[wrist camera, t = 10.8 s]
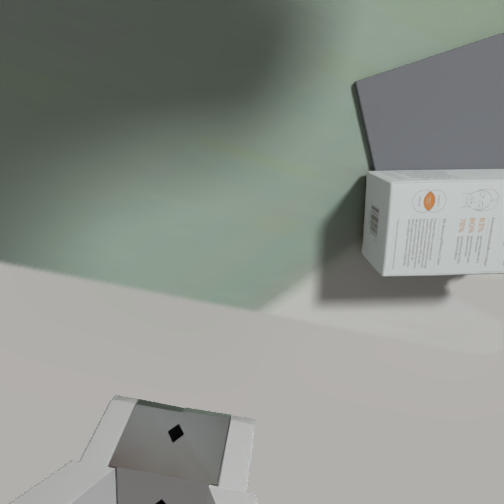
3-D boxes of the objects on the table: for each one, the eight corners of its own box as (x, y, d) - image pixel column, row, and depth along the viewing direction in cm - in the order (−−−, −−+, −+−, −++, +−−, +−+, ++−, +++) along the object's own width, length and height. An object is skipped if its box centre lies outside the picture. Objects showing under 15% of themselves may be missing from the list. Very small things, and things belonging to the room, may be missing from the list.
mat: (354, 82, 39) (356, 81, 39) (501, 33, 39) (505, 32, 38) (396, 268, 45) (397, 270, 45) (524, 228, 45) (527, 229, 44)
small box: (359, 253, 44) (491, 251, 45) (381, 278, 38) (533, 275, 39) (365, 168, 41) (505, 167, 42) (390, 180, 35) (553, 178, 36)
